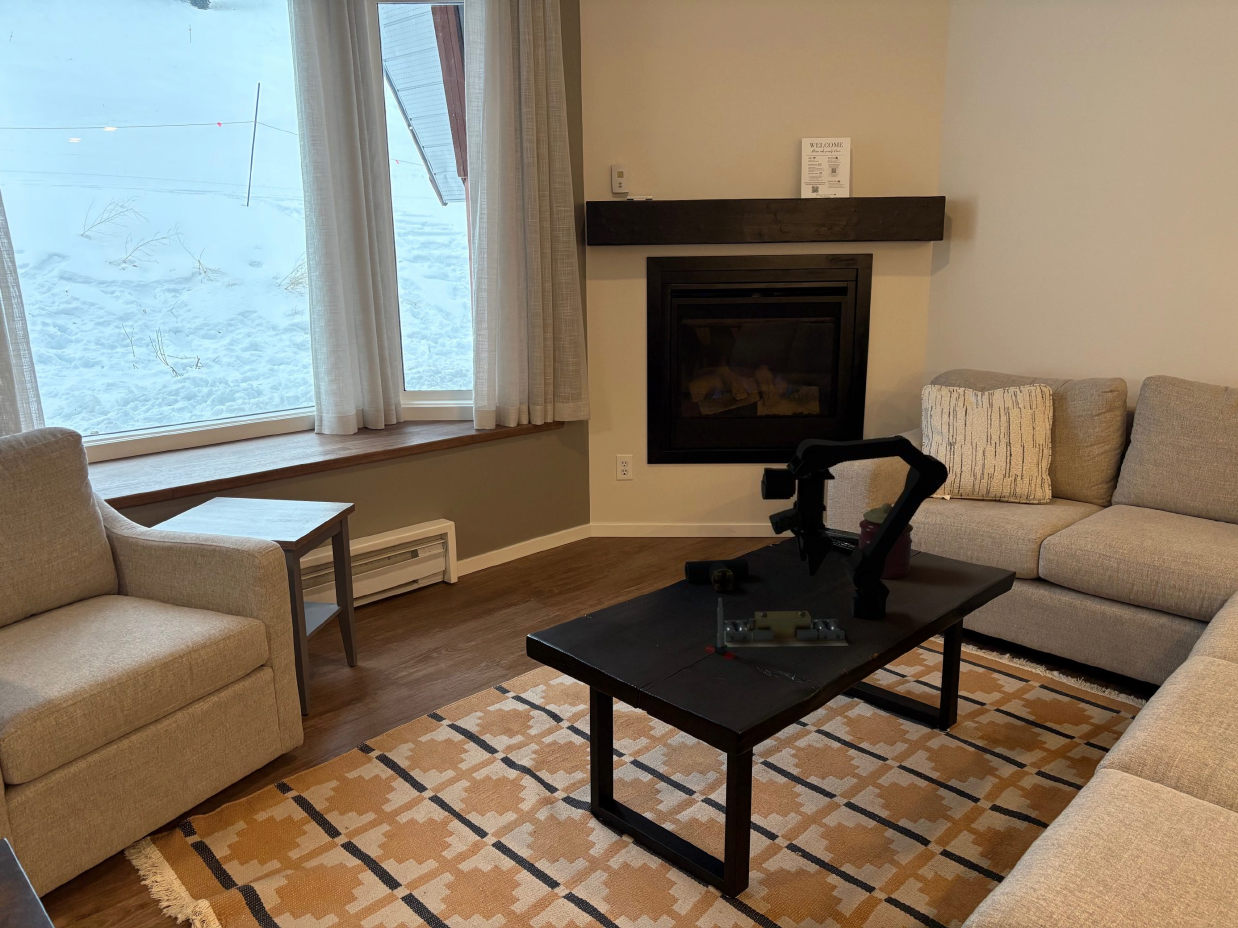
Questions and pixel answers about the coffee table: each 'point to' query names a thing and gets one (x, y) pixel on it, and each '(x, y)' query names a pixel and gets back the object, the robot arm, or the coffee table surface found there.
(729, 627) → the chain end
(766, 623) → the tapered knobbed panel
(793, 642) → the board
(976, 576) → the coffee table surface
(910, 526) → the canister
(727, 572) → the pipe connector
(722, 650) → the gray post stand
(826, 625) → the chain end
